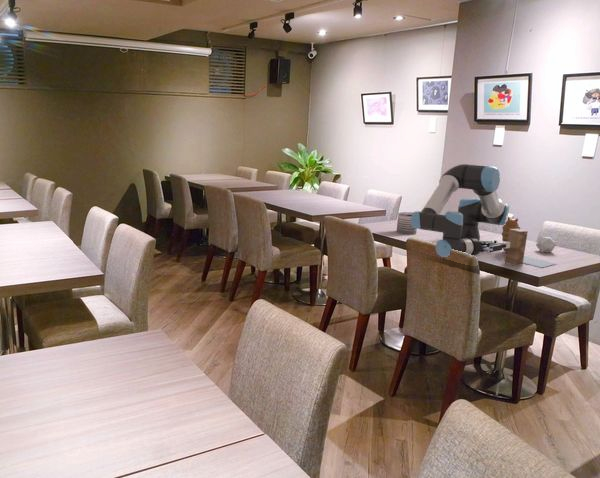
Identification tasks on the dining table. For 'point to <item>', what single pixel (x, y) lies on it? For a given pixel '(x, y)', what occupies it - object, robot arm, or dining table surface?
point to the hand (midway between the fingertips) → (508, 244)
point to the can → (405, 223)
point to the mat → (537, 262)
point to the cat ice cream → (509, 225)
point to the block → (516, 247)
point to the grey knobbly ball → (546, 244)
